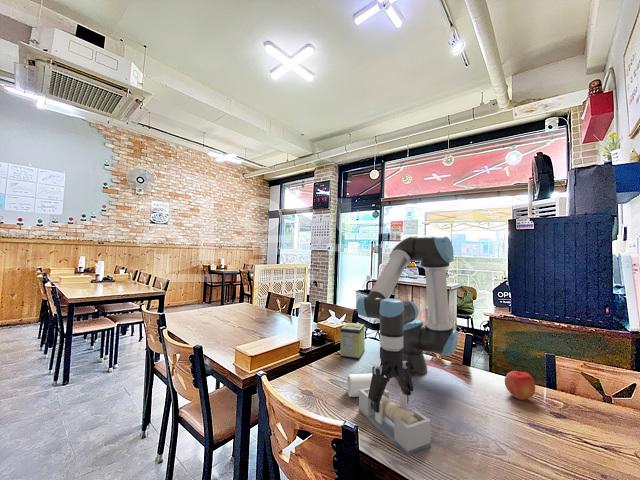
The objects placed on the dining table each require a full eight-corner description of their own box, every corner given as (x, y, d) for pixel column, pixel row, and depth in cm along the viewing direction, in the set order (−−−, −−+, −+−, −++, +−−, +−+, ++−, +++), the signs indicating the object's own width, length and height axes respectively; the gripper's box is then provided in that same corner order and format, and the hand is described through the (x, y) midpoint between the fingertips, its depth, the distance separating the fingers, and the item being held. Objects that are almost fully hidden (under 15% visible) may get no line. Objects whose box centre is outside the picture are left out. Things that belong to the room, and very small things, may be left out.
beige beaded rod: (370, 406, 100) (364, 395, 99) (379, 396, 102) (374, 385, 101) (411, 441, 82) (404, 427, 81) (422, 428, 84) (416, 415, 83)
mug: (376, 399, 108) (376, 378, 109) (351, 401, 107) (351, 379, 107) (367, 385, 120) (367, 366, 120) (344, 386, 119) (344, 367, 119)
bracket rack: (379, 405, 104) (379, 385, 104) (430, 446, 82) (430, 420, 83) (358, 411, 100) (359, 390, 100) (407, 456, 78) (407, 428, 79)
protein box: (364, 351, 161) (364, 323, 162) (359, 361, 146) (359, 330, 147) (346, 348, 165) (347, 321, 165) (340, 358, 150) (340, 328, 151)
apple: (531, 395, 113) (531, 369, 113) (538, 407, 104) (537, 379, 105) (503, 390, 117) (502, 365, 117) (507, 401, 108) (507, 374, 109)
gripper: (408, 339, 100) (409, 404, 100) (356, 348, 91) (356, 420, 90) (425, 346, 94) (425, 415, 93) (370, 356, 84) (370, 433, 83)
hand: (391, 417), depth 91 cm, fingers open, 9 cm apart
